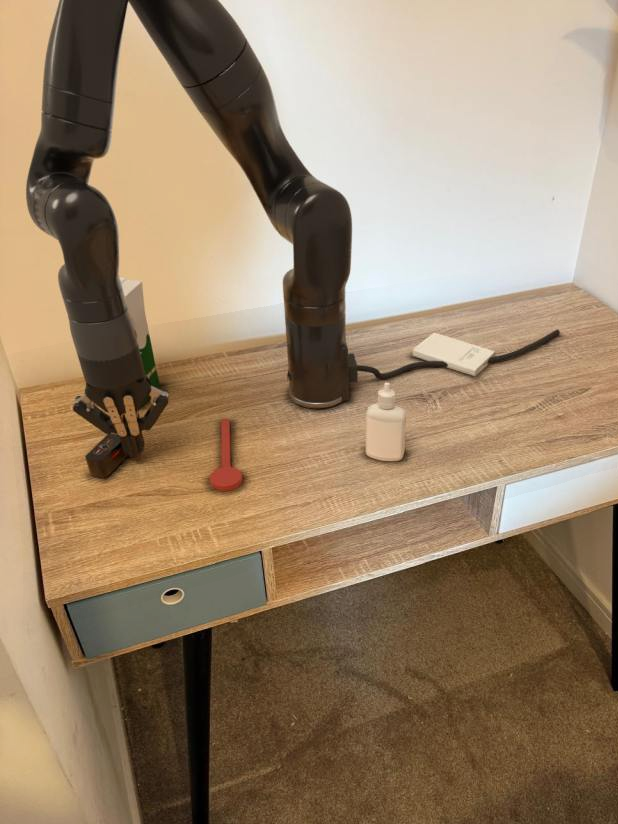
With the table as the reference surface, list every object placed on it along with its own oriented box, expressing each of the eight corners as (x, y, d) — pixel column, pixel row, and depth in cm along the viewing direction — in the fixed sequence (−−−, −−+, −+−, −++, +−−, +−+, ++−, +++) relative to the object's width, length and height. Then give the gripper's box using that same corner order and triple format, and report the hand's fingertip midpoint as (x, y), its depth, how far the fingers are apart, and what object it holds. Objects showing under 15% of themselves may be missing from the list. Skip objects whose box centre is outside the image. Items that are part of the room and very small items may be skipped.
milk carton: (117, 376, 124) (89, 259, 111) (168, 383, 123) (145, 265, 110) (92, 404, 117) (58, 283, 104) (145, 411, 116) (118, 290, 103)
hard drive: (434, 339, 137) (495, 358, 132) (411, 357, 131) (474, 377, 126) (434, 331, 135) (496, 350, 131) (412, 349, 130) (475, 369, 125)
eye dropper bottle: (389, 469, 106) (392, 397, 98) (360, 453, 109) (361, 382, 101) (408, 455, 109) (413, 385, 101) (380, 440, 112) (382, 370, 104)
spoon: (240, 422, 114) (239, 417, 114) (242, 489, 102) (242, 484, 101) (211, 424, 114) (210, 419, 113) (210, 492, 101) (209, 487, 101)
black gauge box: (133, 451, 108) (129, 433, 106) (106, 480, 103) (100, 461, 101) (105, 445, 109) (100, 427, 107) (77, 473, 104) (71, 455, 102)
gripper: (46, 362, 90) (84, 473, 102) (158, 353, 92) (182, 464, 103) (56, 333, 96) (91, 442, 107) (161, 325, 97) (184, 433, 109)
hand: (136, 452), depth 105 cm, fingers closed
